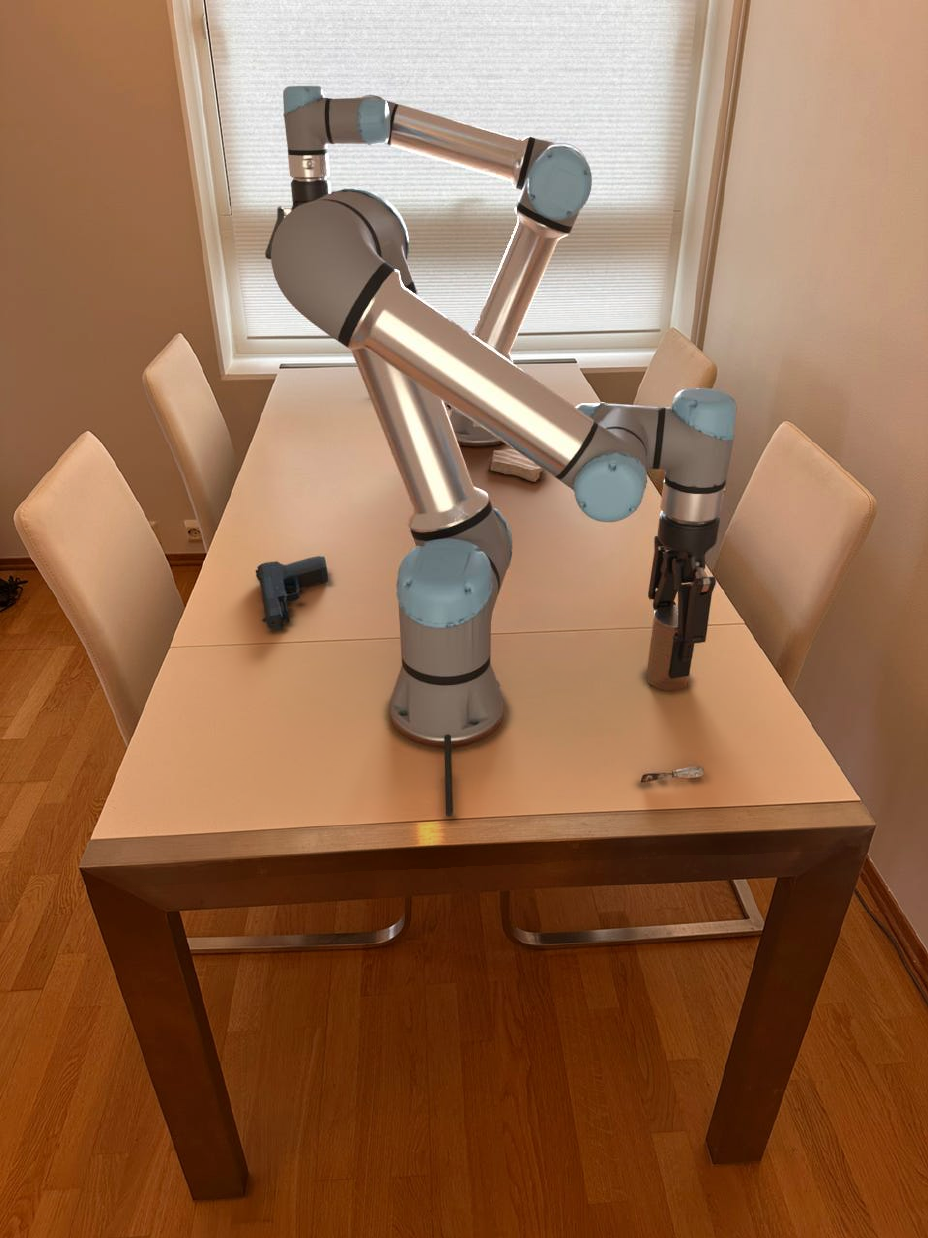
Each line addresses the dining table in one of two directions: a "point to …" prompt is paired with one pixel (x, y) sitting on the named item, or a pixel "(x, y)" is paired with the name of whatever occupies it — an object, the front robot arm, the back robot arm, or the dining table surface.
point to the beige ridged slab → (514, 464)
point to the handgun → (287, 585)
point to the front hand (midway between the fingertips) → (669, 662)
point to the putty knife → (674, 774)
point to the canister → (663, 650)
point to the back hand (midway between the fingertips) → (320, 293)
